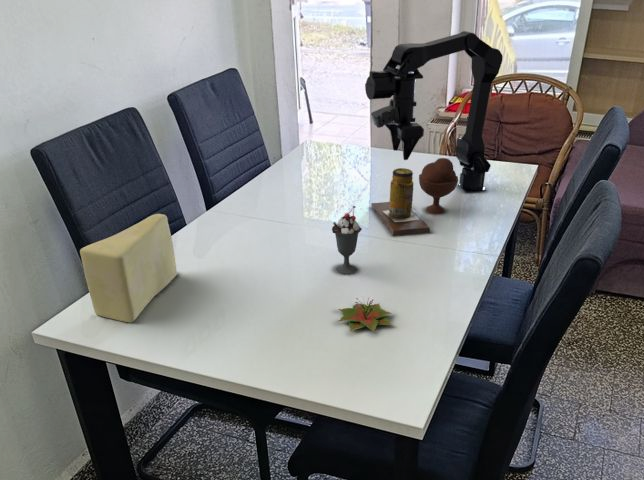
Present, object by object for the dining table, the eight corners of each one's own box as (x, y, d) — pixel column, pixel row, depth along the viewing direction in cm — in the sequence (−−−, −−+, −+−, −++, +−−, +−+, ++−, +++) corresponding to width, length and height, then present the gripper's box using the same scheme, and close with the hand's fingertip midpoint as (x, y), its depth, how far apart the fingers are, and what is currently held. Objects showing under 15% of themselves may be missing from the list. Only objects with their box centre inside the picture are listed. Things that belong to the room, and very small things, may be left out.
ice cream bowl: (453, 204, 187) (459, 152, 179) (455, 219, 178) (460, 164, 169) (416, 202, 188) (420, 150, 180) (416, 217, 178) (420, 162, 170)
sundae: (364, 265, 152) (366, 204, 144) (355, 277, 147) (356, 215, 139) (338, 261, 154) (338, 200, 146) (328, 273, 149) (327, 210, 141)
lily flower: (403, 330, 128) (404, 310, 126) (344, 339, 125) (345, 318, 123) (383, 302, 138) (384, 282, 135) (328, 309, 135) (328, 289, 133)
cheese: (156, 270, 149) (146, 207, 140) (193, 277, 146) (185, 214, 138) (91, 315, 131) (76, 247, 123) (132, 325, 128) (118, 255, 120)
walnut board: (404, 205, 186) (405, 200, 185) (429, 232, 170) (430, 227, 169) (371, 208, 183) (371, 203, 183) (393, 236, 167) (393, 230, 166)
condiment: (406, 208, 179) (409, 165, 173) (419, 219, 173) (423, 175, 166) (382, 211, 177) (384, 168, 171) (394, 223, 171) (397, 178, 164)
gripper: (365, 90, 180) (363, 147, 188) (385, 106, 164) (382, 167, 173) (403, 88, 182) (400, 145, 191) (426, 104, 167) (422, 164, 176)
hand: (400, 155), depth 182 cm, fingers open, 9 cm apart
